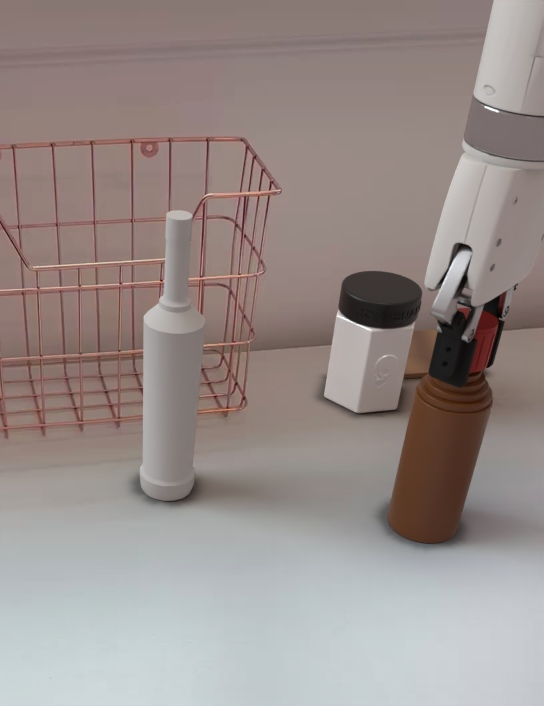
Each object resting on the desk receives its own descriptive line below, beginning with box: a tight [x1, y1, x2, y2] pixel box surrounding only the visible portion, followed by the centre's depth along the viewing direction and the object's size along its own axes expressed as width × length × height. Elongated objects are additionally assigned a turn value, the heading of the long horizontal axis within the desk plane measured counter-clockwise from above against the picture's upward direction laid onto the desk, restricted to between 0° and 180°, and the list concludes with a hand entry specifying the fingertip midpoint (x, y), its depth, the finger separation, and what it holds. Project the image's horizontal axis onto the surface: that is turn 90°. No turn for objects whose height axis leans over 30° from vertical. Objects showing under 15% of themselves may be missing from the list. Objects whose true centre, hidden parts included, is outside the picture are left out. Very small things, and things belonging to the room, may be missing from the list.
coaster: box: [403, 329, 485, 380], centre depth 118 cm, size 10×10×1 cm
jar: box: [323, 270, 423, 414], centre depth 107 cm, size 9×8×12 cm
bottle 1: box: [139, 209, 207, 502], centre depth 88 cm, size 5×5×25 cm
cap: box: [457, 307, 499, 373], centre depth 82 cm, size 4×4×4 cm
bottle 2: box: [386, 371, 494, 544], centre depth 88 cm, size 6×6×19 cm
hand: (460, 369), depth 84 cm, fingers closed on cap, 3 cm apart
